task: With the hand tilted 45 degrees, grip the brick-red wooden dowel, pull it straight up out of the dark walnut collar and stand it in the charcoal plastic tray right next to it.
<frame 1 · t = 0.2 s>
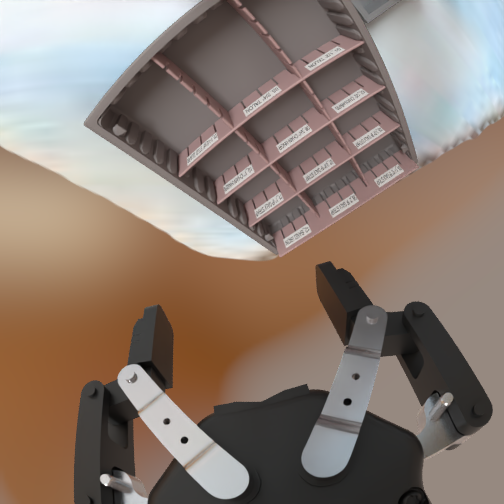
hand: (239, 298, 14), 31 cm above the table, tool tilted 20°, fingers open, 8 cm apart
organizer tray: (273, 108, 38), on the table
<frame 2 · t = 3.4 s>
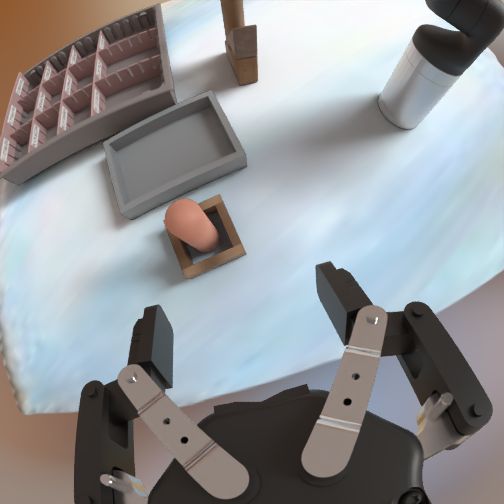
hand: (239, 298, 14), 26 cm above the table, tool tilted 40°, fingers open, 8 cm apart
organizer tray: (89, 96, 46), on the table
tray: (173, 156, 43), on the table
dowel collar: (206, 239, 41), on the table
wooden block: (241, 66, 45), on the table
dowel: (196, 230, 35), in the dowel collar
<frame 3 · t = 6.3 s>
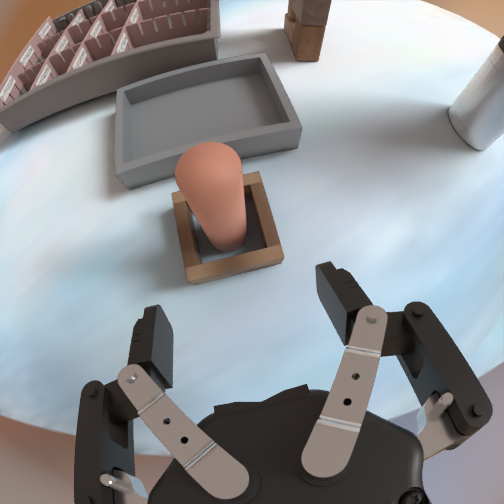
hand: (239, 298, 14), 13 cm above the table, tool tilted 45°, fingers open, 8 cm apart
organizer tray: (116, 50, 37), on the table
tray: (202, 121, 32), on the table
dowel collar: (227, 232, 29), on the table
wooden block: (300, 44, 36), on the table
dowel: (220, 209, 22), in the dowel collar
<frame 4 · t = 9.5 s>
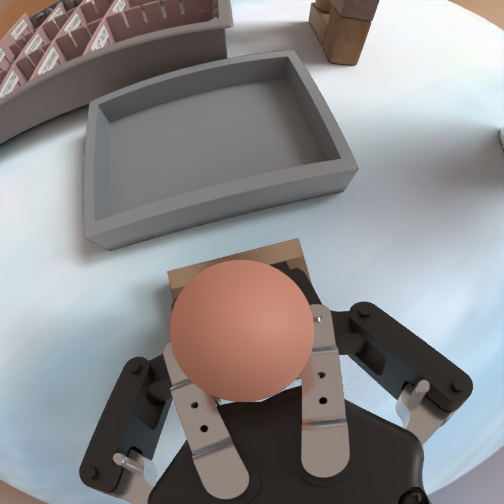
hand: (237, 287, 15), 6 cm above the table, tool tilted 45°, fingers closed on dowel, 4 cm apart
organizer tray: (98, 48, 29), on the table
tray: (207, 146, 23), on the table
dowel collar: (250, 321, 20), on the table
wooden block: (330, 42, 27), on the table
dowel: (247, 324, 14), in the dowel collar, touching gripper
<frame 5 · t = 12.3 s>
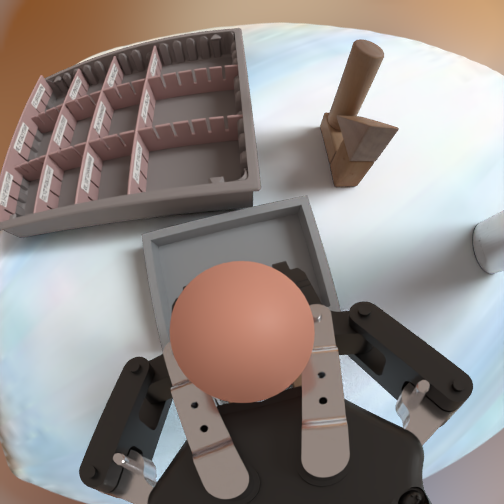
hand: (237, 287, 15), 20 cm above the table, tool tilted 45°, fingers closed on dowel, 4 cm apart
organizer tray: (126, 138, 40), on the table
tray: (238, 277, 34), on the table
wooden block: (337, 155, 39), on the table
dowel: (247, 325, 14), point 20 cm above the table, touching gripper
when the fingers open (8 cm above the table, at t = 15.3 s): dowel drops 1 cm, resting on tray.
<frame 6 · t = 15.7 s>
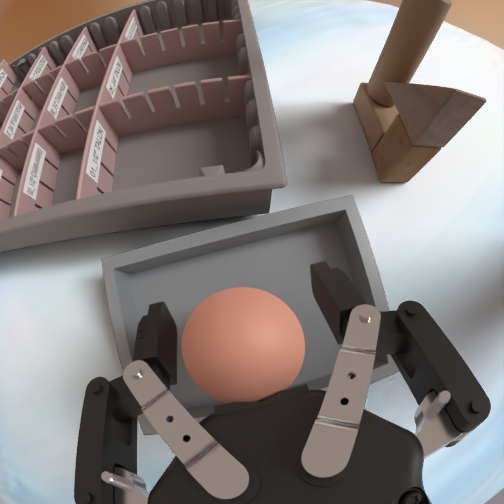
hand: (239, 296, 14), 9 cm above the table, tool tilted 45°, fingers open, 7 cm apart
organizer tray: (94, 124, 28), on the table
tray: (249, 320, 23), on the table
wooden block: (379, 140, 27), on the table
dowel: (248, 329, 15), in the tray, point 8 cm above the table
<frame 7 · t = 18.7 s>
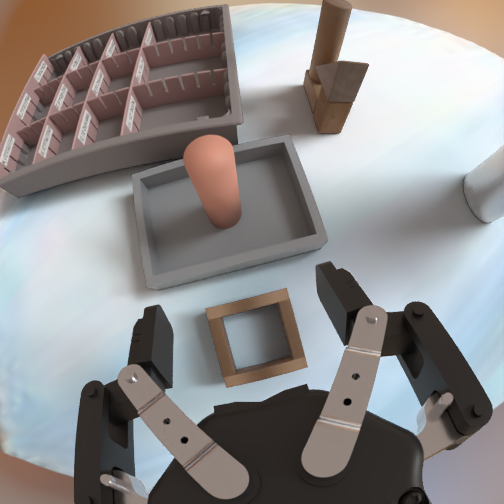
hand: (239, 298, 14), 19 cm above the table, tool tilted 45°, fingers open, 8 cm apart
organizer tray: (122, 103, 40), on the table
tray: (225, 215, 34), on the table
dowel collar: (256, 337, 31), on the table
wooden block: (320, 108, 38), on the table
dowel: (218, 189, 27), in the tray, point 8 cm above the table
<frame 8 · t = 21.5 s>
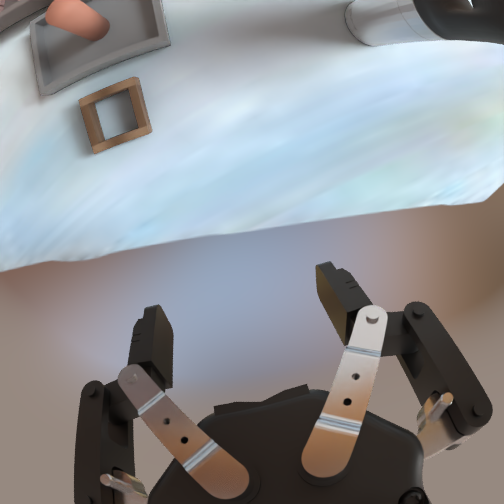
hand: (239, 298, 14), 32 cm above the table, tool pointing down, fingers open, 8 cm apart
tray: (99, 30, 26), on the table
dowel collar: (118, 114, 34), on the table
dowel: (81, 20, 20), in the tray, point 8 cm above the table
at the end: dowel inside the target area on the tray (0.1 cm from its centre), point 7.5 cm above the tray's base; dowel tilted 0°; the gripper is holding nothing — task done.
